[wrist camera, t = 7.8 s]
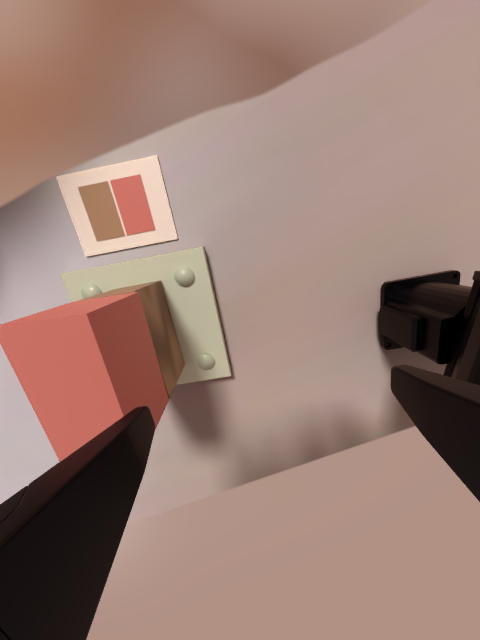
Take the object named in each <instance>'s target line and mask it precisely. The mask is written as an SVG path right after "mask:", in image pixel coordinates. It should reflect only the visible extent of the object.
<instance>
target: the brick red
mask: <svg viewBox="0 0 480 640" xmlns="http://www.w3.org/2000/svg"><path fill="white" fill-rule="evenodd" d="M0 344H1V346H2V348H3V350H4V352H5V354H6V356H7V358H8V360H9V362H10V364H11V366H12V367H13V369H14V371H15V373H16V375H17V377H18V379H19V381H20V383H21V385H22V387H23V389H24V391H25V393H26V395H27V397H28V399H29V401H30V403H31V405H32V407H33V409H34V411H35V413H36V415H37V417H38V419H39V421H40V423H41V425H42V427H43V429H44V431H45V433H46V435H47V437H48V439H49V441H50V443H51V445H52V447H53V449H54V451H55V453H56V455H57V457H58V459H59V461H60V462H61V461H62V460H63V459H65V458H66V457H68V456H69V455H70V454H72V453H73V452H75V451H76V450H77V449H79V448H80V447H82V446H83V445H84V444H86V443H87V442H88V441H90V440H91V439H93V438H94V437H95V436H97V435H98V434H100V433H101V432H102V431H104V430H105V429H107V428H108V427H109V426H111V425H112V424H114V423H115V422H116V421H118V420H119V419H121V418H122V417H123V416H125V415H126V414H128V413H129V412H130V411H132V410H133V409H135V408H136V407H141V406H148V407H149V409H150V411H151V414H152V417H153V419H154V422H155V429H156V427H157V425H158V423H159V420H160V418H161V416H162V414H163V412H164V409H165V407H166V405H167V403H168V401H169V399H168V395H167V391H166V388H165V384H164V381H163V377H162V374H161V370H160V367H159V363H158V359H157V356H156V352H155V349H154V345H153V342H152V338H151V335H150V331H149V327H148V324H147V320H146V317H145V313H144V310H143V306H142V303H141V299H140V295H139V292H135V293H128V294H121V295H114V296H107V297H100V298H94V299H87V300H80V301H75V302H71V303H68V304H65V305H62V306H59V307H55V308H52V309H49V310H46V311H43V312H40V313H36V314H33V315H30V316H27V317H24V318H20V319H17V320H14V321H11V322H8V323H4V324H1V325H0Z"/></svg>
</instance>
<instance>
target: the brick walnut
mask: <svg viewBox="0 0 480 640" xmlns="http://www.w3.org/2000/svg"><path fill="white" fill-rule="evenodd" d="M135 292H139V295H140V299H141V303H142V306H143V310H144V313H145V317H146V320H147V324H148V327H149V331H150V335H151V338H152V342H153V345H154V349H155V352H156V356H157V359H158V363H159V367H160V370H161V374H162V377H163V381H164V384H165V388H166V391H167V395H168V399H169V398H170V397H171V395H172V393H173V390H174V388H175V386H176V384H177V382H178V379H179V377H180V375H181V373H182V371H183V368H184V366H185V362H184V359H183V355H182V352H181V348H180V345H179V341H178V338H177V334H176V331H175V327H174V324H173V320H172V317H171V313H170V310H169V306H168V303H167V299H166V296H165V292H164V289H163V285H162V282H161V280H160V281H155V282H150V283H144V284H139V285H134V286H128V287H123V288H118V289H114V290H110V291H107V292H104V293H101V294H98V295H94V296H91V297H88V298H85V299H82V300H87V299H94V298H100V297H107V296H114V295H121V294H128V293H135ZM79 301H80V300H79Z"/></svg>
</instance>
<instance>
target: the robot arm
mask: <svg viewBox="0 0 480 640" xmlns="http://www.w3.org/2000/svg"><path fill="white" fill-rule="evenodd" d="M452 275H453V277H452ZM451 277H452V278H451ZM473 280H474V283H473V286H472V287H469V286H462V285H459V283H460V272H459V271H455V270H450V271H444V272H438V273H433V274H427V275H422V276H416V277H411V278H405V279H399V280H394V281H388V282H385V283H384V284H383V285H382V288H381V307H380V333H381V346H382V347H383V348H384V349H386V350H390V349H396V348H402V347H405V348H407V349H409V350H411V351H412V352H418V353H420V354H422V355H423V356H425V357H427V358H429V359H431V360H432V361H434V362H436V363H438V364H447V366H446V369H445V372H444V375H440V374H437V373H433V372H429V371H426V370H422V369H418V368H415V367H411V366H407V365H400V366H394V367H392V369H391V390H392V393H393V394H394V396H395V397H396V399H397V400H398V401H399V403H400V404H401V406H402V407H403V408H404V410H405V411H406V413H407V414H408V416H409V417H410V418H411V420H412V421H413V423H414V424H415V425H416V427H417V428H418V429H419V431H420V432H421V433H422V435H423V436H424V437H425V438H426V440H427V441H428V442H429V443H430V444H431V445H432V447H433V448H434V449H435V450H436V451H437V452H438V454H439V455H440V456H441V457H442V458H443V459H444V461H445V462H446V463H447V464H448V465H449V466H450V468H451V469H452V470H453V471H454V472H455V474H456V475H457V476H458V477H459V478H460V479H461V481H462V482H463V483H464V484H465V485H466V486H467V488H468V489H469V490H470V491H471V492H472V493H473V495H474V496H475V497H476V498H477V499H478V500H479V502H480V271H475V272H474V276H473ZM389 285H390V288H389V289H388V290H387V287H388V286H389ZM387 343H389V344H388V345H387V346H386V344H387ZM154 432H155V422H154V419H153V417H152V414H151V411H150V409H149V407H148V406H141V407H136V408H135V409H133V410H132V411H130V412H129V413H128V414H126V415H125V416H123V417H122V418H121V419H119V420H118V421H116V422H115V423H114V424H112V425H111V426H109V427H108V428H107V429H105V430H104V431H102V432H101V433H100V434H98V435H97V436H95V437H94V438H93V439H91V440H90V441H88V442H87V443H86V444H84V445H83V446H82V447H80V448H79V449H77V450H76V451H75V452H73V453H72V454H70V455H69V456H68V457H66V458H65V459H63V460H62V461H61V462H59V463H58V464H56V465H55V466H54V467H52V468H51V469H49V470H48V471H47V472H45V473H44V474H42V475H41V476H40V477H38V478H37V479H35V480H34V481H33V482H31V483H30V484H29V486H26V487H24V488H23V489H21V490H20V491H19V492H17V493H16V494H14V495H13V496H12V497H10V498H9V499H7V500H6V501H4V502H3V503H2V504H0V640H86V638H87V636H88V633H89V630H90V627H91V624H92V621H93V618H94V615H95V612H96V610H97V607H98V604H99V601H100V598H101V595H102V593H103V590H104V587H105V584H106V581H107V578H108V575H109V572H110V569H111V567H112V563H113V561H114V558H115V555H116V552H117V549H118V547H119V543H120V541H121V538H122V535H123V532H124V529H125V526H126V524H127V521H128V518H129V515H130V512H131V509H132V506H133V504H134V501H135V498H136V495H137V492H138V489H139V486H140V483H141V481H142V478H143V475H144V471H145V468H146V464H147V460H148V456H149V452H150V448H151V444H152V440H153V436H154Z"/></svg>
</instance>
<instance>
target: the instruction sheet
mask: <svg viewBox="0 0 480 640" xmlns="http://www.w3.org/2000/svg"><path fill="white" fill-rule="evenodd" d="M56 179H57V182H58V184H59V187H60V190H61V192H62V195H63V198H64V200H65V203H66V206H67V208H68V211H69V214H70V216H71V219H72V222H73V224H74V227H75V230H76V232H77V235H78V238H79V240H80V243H81V246H82V248H83V251H84V254H85V256H86V257H87V256H93V255H98V254H103V253H108V252H113V251H118V250H123V249H129V248H134V247H139V246H144V245H149V244H154V243H159V242H164V241H170V240H175V239H178V237H177V233H176V229H175V225H174V221H173V217H172V213H171V209H170V205H169V201H168V197H167V193H166V189H165V185H164V181H163V177H162V173H161V169H160V165H159V161H158V157H157V155H155V156H150V157H145V158H141V159H136V160H131V161H127V162H122V163H117V164H112V165H108V166H103V167H98V168H93V169H89V170H84V171H79V172H75V173H70V174H65V175H60V176H56Z"/></svg>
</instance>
